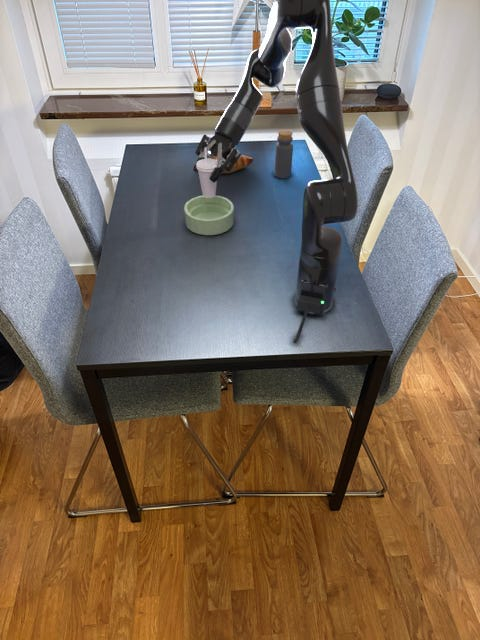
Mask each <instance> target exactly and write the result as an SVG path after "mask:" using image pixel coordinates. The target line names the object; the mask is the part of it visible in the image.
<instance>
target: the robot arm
mask: <svg viewBox="0 0 480 640" xmlns="http://www.w3.org/2000/svg"><path fill="white" fill-rule="evenodd" d="M289 29H292V30H295V29H296V30H297V29H310V30H311V34H312V45H311V49H310V53H309V55H308V58H307V60H306V62H305V64H304V67H303V69H302V71H301V73H300V76H299V77H298V80H297V83H296V87H295V103H296V108H297V115H298V121H299V123H300V126H301V128H302V129H303V131H304V132H305V134H306V135H307V136H308V137H309V139H310V140H311V142H312V143H314V145H315V146H316V148H318V149H319V151H320V152H321V153H322V155H323V157H324V158H325V160H326V162H327V164H328V167H329V169H330V172H331V177H332V178H327V179H318V180H312V181H309V182H308V183H307V184H306V186H305V187H304V190H303V197H302V218H301V219H302V220H301V243H300V253H299V261H298V270H297V280H296V281H297V282H296V289H295V296H294V304H295V307H296V310H297V312H298V313H302V314H303V315H302V319H301V321H300V324H299V327H298V330H297V332H296V335H295V337H294V338H293V343H295V344H296V343H297V342H298V340H299V338H300V336H301V333H302V330H303V328H304V325H305V322H306V320H307V317H308V315H310V316H316V317H321V318H322V317H323V316H324V314H327V313H328V312H330V311H331V310H332V308H333V303H334V296H335V293H336V292H337V288H336V284H337V278H338V273H339V266H340V262H341V256H342V250H343V243H344V239H343V235H342V234H341V232H339V230H338V229H336V228H333V227H331V226H329V224H338V223H345V222H350V221H353V220H354V219H355V218H356V216H357V213H358V209H359V196H358V190H357V189H358V187H357V185H356V180H355V175H354V171H353V167H352V162H351V157H350V153H349V149H348V143H347V137H346V136H347V135H346V130H345V123H344V122H345V121H344V114H343V105H342V103H343V102H342V97H341V90H340V89H341V88H340V84H339V79H338V78H339V77H338V73H337V68H336V60H335V53H334V52H335V51H334V43H333V42H334V41H333V27H332V12H331V0H272V3H271V8H270V13H269V18H268V24H267V30H266V34H265V37H264V39H263V41H262V43H261V46H260V47H259V48H257V49H254V50H253V51H252V52H251V53H250V54H249V57H248V59H247V62H246V66H245V70H244V74H243V77H242V80H241V83H240V85H239V88H238V90H237V91H236V93H235V95H234V97H233V99H232V101H231V102H230V103H229V104H228V106H227V107H226V108H225V111H224V113H223V114H222V115H221V117H220V119H219V121H218V123H217V125H216V127H215V129H214V134H213V135H212V136H211V137H210V136H208V135H207V134H203V135H202V137H201V139H200V141H199V142H198V143H199V144H198V146H197V148H196V150H195V151H194V152H195V155H196V156H197V160H196V161H195V163H194V164H195V165H194V164H193V169H192V171H193V172H195V173H196V174H198V175H199V173H198V169H197V168H196V163H197V162H198V161H199V160H202V159H205V149H204V148H207V159H209V158H212V157H213V156H216V157H217V160H218V162H217V168H216V167H215V169H214V171H213V172H212V174H211V176H210V178H209V180H211V181H212V182H214V183H215V182H216V181H217V182H218V180H219V178H220V177H221V175H222V174H221V173H222V172H223V171H228V172H229V171H230V170H231V169H232V167H233V166H234V165H235V163H236V162H237V160H238V159H239V157H240V156H241V155H242V154H241V152H240V151H239V150H237V149H236V148H235V147H236V146H238V145H239V144H240V142H241V140H242V139H243V137H244V135H245V133H246V131H247V130H248V128H249V126H250V125H251V122H252V120H253V118H254V116H255V115H256V113H257V111H258V109H259V107H260V105H261V104H262V101H263V99H264V98H263V97H264V96H263V94H262V93H261V91H260V89H258V88H257V87H256V85H255V84H254V81H253V79H255V80H256V81H258V82H259V83H260V84H262V85H264V86H265V87H267V88H269V89H274V88H276V87H278V86H279V85H280V84H281V83H282V81H283V79H284V77H285V74H286V73H285V72H286V61H287V59H288V57H289V55H290V53H291V51H292V47H293V37H292V34H291V32H290V31H289ZM229 154H230V155H229ZM228 155H229V157H228ZM229 163H230V164H229ZM327 224H328V225H327Z"/></svg>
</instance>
